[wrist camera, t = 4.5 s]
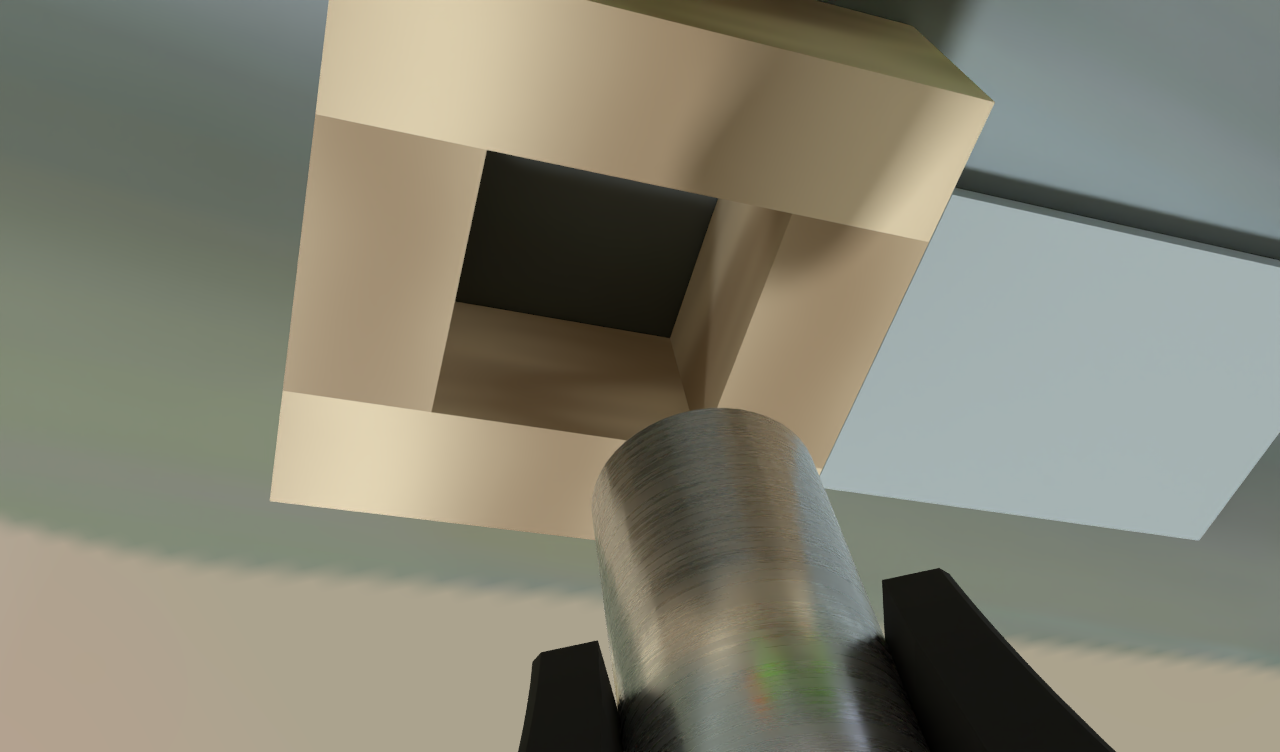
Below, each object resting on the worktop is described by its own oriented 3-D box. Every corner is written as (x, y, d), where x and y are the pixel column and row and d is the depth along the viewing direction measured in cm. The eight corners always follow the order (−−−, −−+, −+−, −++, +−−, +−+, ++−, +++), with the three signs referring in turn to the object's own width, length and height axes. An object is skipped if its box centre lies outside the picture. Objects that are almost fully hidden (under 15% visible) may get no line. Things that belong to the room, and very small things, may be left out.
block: (912, 25, 18) (994, 102, 15) (741, 443, 23) (778, 561, 20) (361, -120, 16) (336, -62, 13) (298, 378, 20) (269, 501, 18)
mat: (1371, 281, 22) (1385, 291, 22) (1189, 528, 26) (1198, 540, 26) (944, 185, 20) (952, 194, 19) (810, 474, 23) (815, 487, 23)
